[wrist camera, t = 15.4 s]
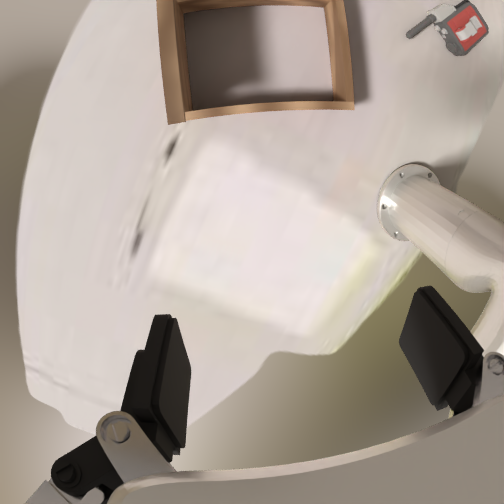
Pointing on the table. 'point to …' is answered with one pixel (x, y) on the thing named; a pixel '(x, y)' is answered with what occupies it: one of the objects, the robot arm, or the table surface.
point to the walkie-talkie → (455, 26)
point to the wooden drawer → (180, 104)
